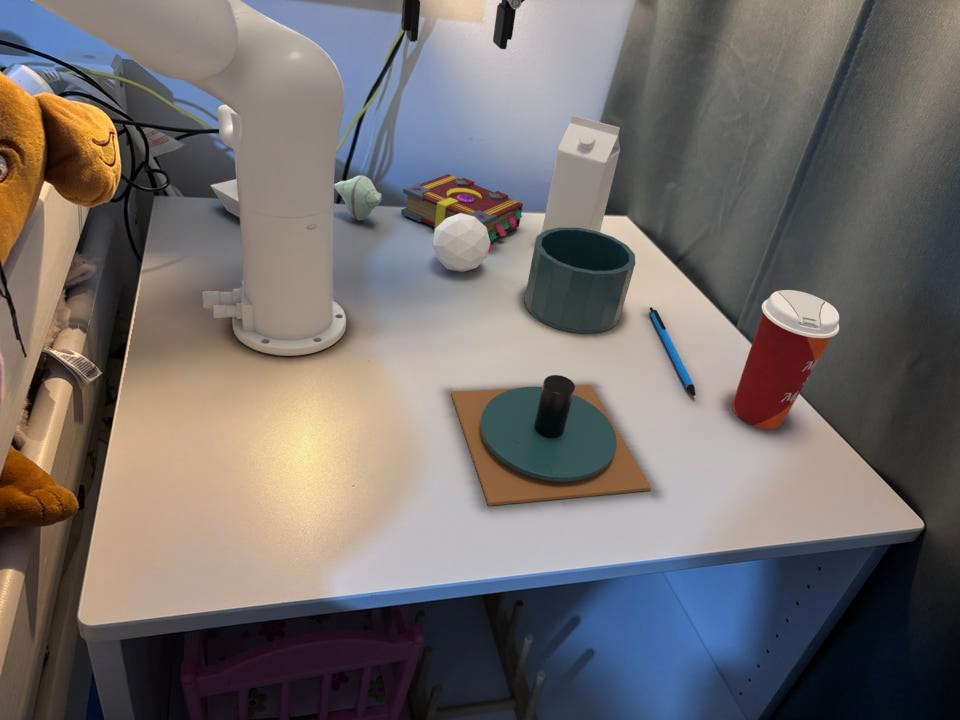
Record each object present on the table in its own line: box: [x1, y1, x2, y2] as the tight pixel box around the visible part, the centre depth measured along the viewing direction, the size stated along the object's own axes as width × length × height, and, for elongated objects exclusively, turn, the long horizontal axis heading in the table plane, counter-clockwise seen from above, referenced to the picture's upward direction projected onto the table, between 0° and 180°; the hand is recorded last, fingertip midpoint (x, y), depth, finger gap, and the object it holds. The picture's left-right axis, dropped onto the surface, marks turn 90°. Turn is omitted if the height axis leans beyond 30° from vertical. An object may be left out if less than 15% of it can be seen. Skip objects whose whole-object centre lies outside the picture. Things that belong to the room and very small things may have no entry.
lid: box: [480, 374, 617, 482], centre depth 70 cm, size 14×14×7 cm
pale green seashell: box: [334, 175, 383, 221], centre depth 106 cm, size 8×4×7 cm, turn 65°
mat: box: [450, 384, 652, 507], centre depth 72 cm, size 16×16×1 cm
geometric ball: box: [431, 213, 491, 273], centre depth 98 cm, size 8×8×8 cm
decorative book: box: [400, 173, 524, 252], centre depth 110 cm, size 11×16×5 cm
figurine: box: [209, 104, 242, 219], centre depth 101 cm, size 7×9×15 cm
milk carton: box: [541, 114, 621, 233], centre depth 105 cm, size 7×7×19 cm
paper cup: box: [732, 289, 840, 430], centre depth 76 cm, size 8×8×14 cm
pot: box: [524, 227, 636, 334], centre depth 92 cm, size 13×13×8 cm
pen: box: [649, 306, 697, 398], centre depth 88 cm, size 1×19×1 cm, turn 4°
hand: (456, 42), depth 76 cm, fingers open, 9 cm apart
